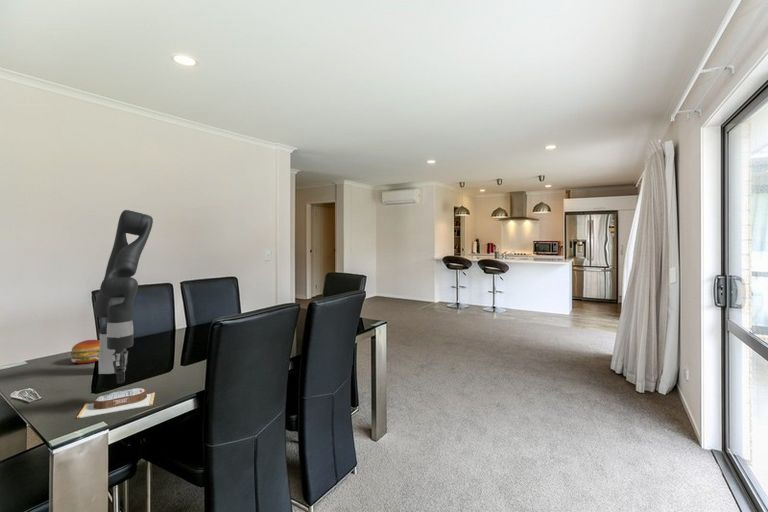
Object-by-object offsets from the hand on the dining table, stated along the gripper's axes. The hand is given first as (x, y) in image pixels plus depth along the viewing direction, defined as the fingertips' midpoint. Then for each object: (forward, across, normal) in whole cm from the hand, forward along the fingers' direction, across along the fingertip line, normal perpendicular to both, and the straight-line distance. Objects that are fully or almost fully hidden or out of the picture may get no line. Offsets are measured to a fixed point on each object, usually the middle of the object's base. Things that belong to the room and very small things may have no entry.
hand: (120, 382), depth 124 cm
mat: (+6, +4, 0) cm, 8 cm away
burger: (+7, -63, -21) cm, 67 cm away
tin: (+5, -3, 0) cm, 5 cm away
